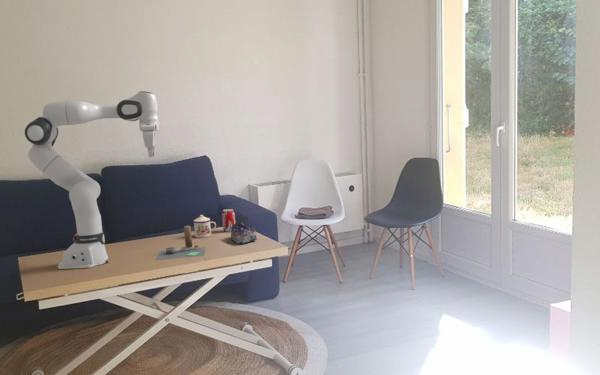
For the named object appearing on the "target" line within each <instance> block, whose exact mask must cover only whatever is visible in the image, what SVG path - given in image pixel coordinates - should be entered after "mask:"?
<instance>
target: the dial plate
mask: <svg viewBox="0 0 600 375" xmlns="http://www.w3.org/2000/svg"><path fill="white" fill-rule="evenodd" d="M205 251H206V247H205V246H202V247H201V246H200V247H197V248H190V249H184V250H178V251H175V253H173V254H166V250H159V252H158V253H157V256H156V258H155V261H163V260H172V259H182V258H183V259H185V258H193V257H194V258H195V257H204V256H205V253H206V252H205Z"/></svg>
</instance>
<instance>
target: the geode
mask: <svg viewBox="0 0 600 375" xmlns="http://www.w3.org/2000/svg"><path fill="white" fill-rule="evenodd" d="M230 239H231V240H232V241H234V242H235V243H236V244H241V245H245V244H247V243H251V242H253V241H256V240H257V239H258V238H257V231H256V229H255V228H254V227H253V226H247V225H246V224H244V223H243V221H240V220H239V222H237V221H235V224H233V225H232V226H231V232H230Z"/></svg>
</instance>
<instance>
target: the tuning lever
mask: <svg viewBox="0 0 600 375" xmlns="http://www.w3.org/2000/svg"><path fill="white" fill-rule="evenodd" d="M191 227H192V226H191V225H185V226H183V233H184V243H185V244H184V245H185V246H184V247H182V246H181V247H178V248H176V247H173V246H172V247H166V248H165V251H166V254H173V253H175V251H178V250H184V249H190V248H199V247H198V245H197V244H194V245H193V238H192V228H191Z"/></svg>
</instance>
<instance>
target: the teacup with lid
mask: <svg viewBox="0 0 600 375" xmlns="http://www.w3.org/2000/svg"><path fill="white" fill-rule="evenodd" d="M211 224H214V227H213V228H211ZM193 227H194V237H195V238H198V239H199V238H200V239H202V238H209V237H211V236H212V232H213V231H215V230H216V227H217V224H216V222H214V221H211V218H210V217H206V216H204V215H203V214H200V215H199V217H196V218H195V219H194V220H193Z"/></svg>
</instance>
